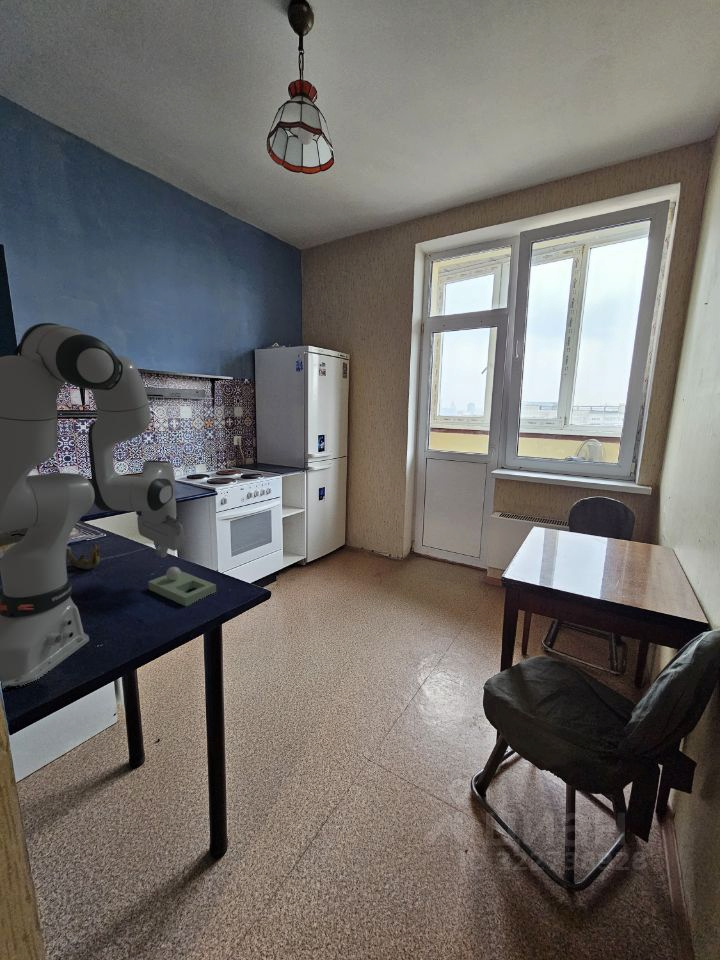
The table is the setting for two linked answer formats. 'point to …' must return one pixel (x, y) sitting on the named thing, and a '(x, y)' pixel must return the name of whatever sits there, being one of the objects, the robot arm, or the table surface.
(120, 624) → the table surface
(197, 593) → the putting board
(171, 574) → the ball
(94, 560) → the jawbone
